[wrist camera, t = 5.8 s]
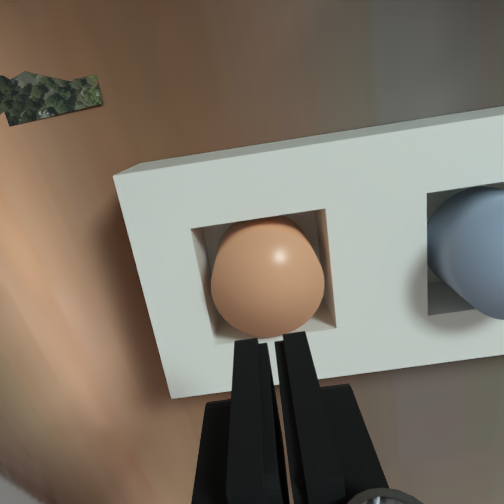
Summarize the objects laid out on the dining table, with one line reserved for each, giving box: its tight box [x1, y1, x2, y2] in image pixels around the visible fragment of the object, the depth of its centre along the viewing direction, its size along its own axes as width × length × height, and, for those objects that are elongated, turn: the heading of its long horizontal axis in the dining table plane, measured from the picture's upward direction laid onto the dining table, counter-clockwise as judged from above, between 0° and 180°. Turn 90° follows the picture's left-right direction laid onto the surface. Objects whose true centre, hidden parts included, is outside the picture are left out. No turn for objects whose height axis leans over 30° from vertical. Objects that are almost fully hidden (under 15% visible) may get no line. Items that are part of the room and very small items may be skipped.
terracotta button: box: [211, 215, 324, 337], centre depth 17 cm, size 4×4×3 cm
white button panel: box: [113, 106, 504, 399], centre depth 18 cm, size 28×10×4 cm, turn 99°
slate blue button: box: [427, 186, 504, 320], centre depth 16 cm, size 4×4×3 cm
